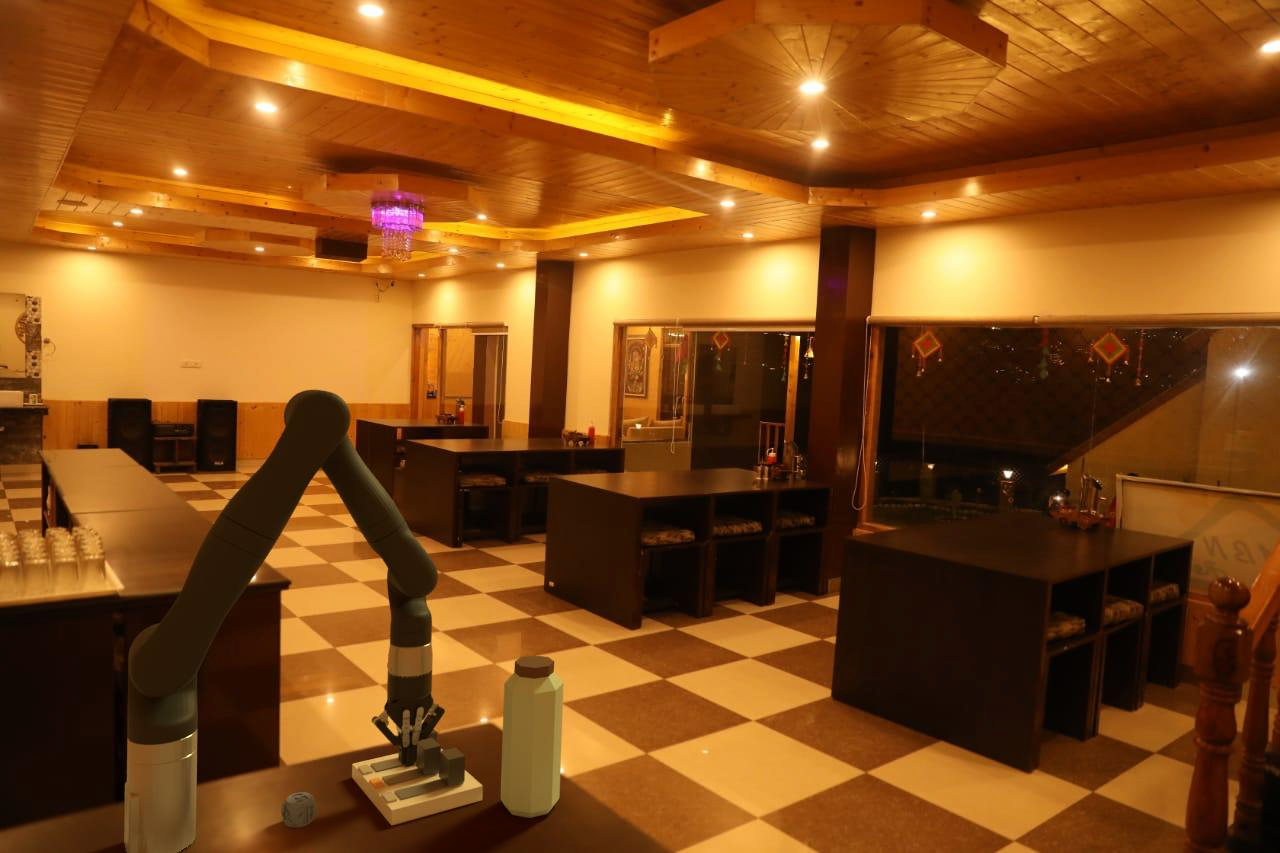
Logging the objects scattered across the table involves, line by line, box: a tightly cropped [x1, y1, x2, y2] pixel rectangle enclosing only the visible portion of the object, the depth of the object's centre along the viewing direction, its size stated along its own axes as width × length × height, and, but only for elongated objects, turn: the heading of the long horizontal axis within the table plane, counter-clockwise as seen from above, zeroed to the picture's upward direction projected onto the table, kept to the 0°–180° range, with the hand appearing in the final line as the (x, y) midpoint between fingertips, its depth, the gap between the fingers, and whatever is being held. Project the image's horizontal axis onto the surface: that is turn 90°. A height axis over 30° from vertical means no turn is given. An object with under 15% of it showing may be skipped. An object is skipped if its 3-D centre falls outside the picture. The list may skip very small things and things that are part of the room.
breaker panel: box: [351, 748, 484, 826], centre depth 149 cm, size 16×20×3 cm
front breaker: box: [439, 747, 466, 786], centre depth 147 cm, size 3×4×4 cm
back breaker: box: [422, 728, 438, 743], centre depth 156 cm, size 3×4×4 cm
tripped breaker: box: [415, 738, 442, 775], centre depth 150 cm, size 3×4×4 cm
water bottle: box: [500, 654, 564, 819], centre depth 144 cm, size 10×10×25 cm
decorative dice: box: [280, 791, 318, 829], centre depth 137 cm, size 4×4×4 cm
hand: (407, 764), depth 148 cm, fingers closed
